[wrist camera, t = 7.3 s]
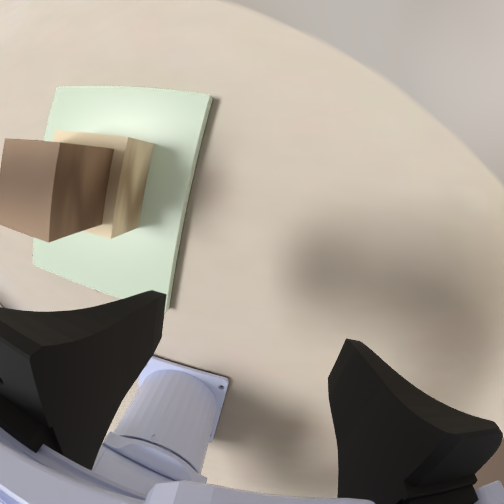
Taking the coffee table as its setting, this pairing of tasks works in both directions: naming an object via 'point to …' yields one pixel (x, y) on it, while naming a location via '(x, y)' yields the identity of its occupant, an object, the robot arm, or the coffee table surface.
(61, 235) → the walnut brick
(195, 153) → the plate
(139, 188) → the maple base brick
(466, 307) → the coffee table surface
